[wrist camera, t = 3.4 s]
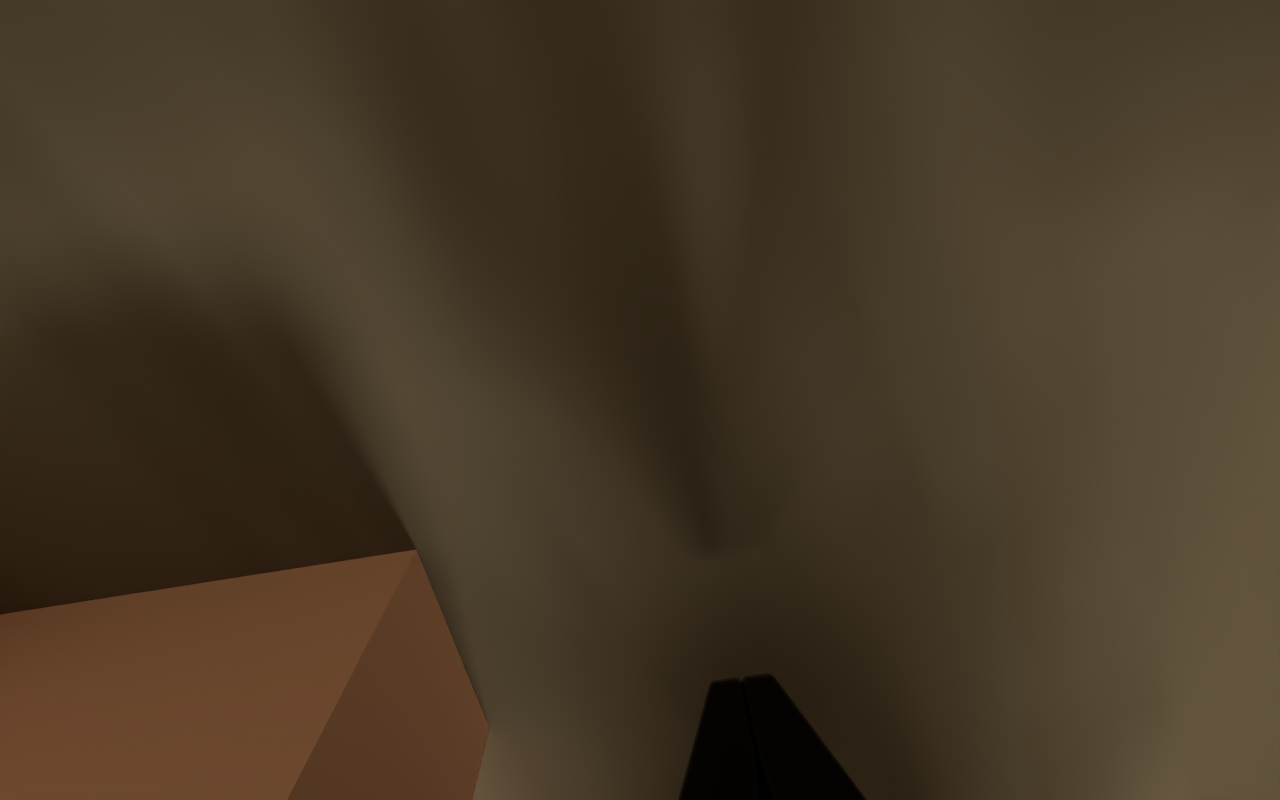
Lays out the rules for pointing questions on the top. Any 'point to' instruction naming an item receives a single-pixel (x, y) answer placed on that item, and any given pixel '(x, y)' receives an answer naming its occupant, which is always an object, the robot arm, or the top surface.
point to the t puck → (243, 692)
